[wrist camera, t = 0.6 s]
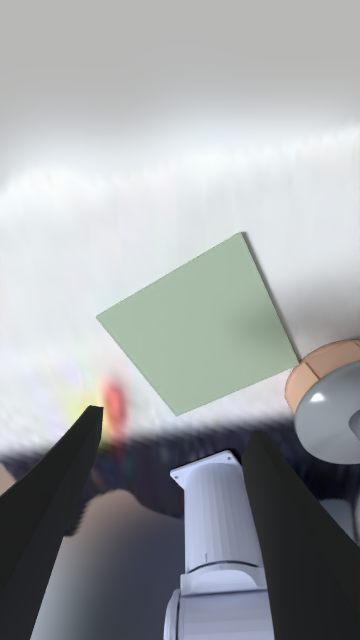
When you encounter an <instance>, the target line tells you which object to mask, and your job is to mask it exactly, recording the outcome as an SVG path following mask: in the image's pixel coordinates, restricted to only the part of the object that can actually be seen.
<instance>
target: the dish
mask: <svg viewBox="0 0 360 640" xmlns="http://www.w3.org/2000/svg"><path fill="white" fill-rule="evenodd" d="M357 360H360V340H344V341H338V342H334V343H331V344H328V345H325V346H323V347H321V348H319V349H317V350H315V351H313V352H312V353H310V354H309V355H307V356H306V357H305V358H303V359H302V360H301V361H300V362H299V364H300V365H297V366H295V368H294V369H293V370H292V372H291V373H290V375H289V377H288V379H287V383H286V387H285V399H286V401H287V403H288V405H289V407H290V409H291V410H292V412H293V414H294V416H295V411H296V408H297V406H298V404H299V402H300V400H301V398H302V397H303V396H304V394H305V393H306V392H307V391H308V390H309V389H310V388H311V386H312V385H314V384H315V383H316V382H317V381H318V380H319V379H321V378H322V377H324V376H325V375H327V374H328V373H330V372H332V371H333V370H335V369H337V368H339V367H341V366H344V365H346V364H349V363H351V362H354V361H357Z"/></svg>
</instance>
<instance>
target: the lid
mask: <svg viewBox="0 0 360 640" xmlns="http://www.w3.org/2000/svg"><path fill="white" fill-rule="evenodd" d="M294 427H295V431H296V434H297V436H298V438H299V440H300V442H301V443H302V445H303V446H304V448H305V449H306V450H307V451H308V452H309V453H310V454H312V455H313V456H315V457H317V458H319V459H321V460H324V461H327V462H332V463H338V464H359V463H360V360H357V361H354V362H351V363H349V364H346V365H344V366H341V367H339V368H337V369H335V370H333V371H332V372H330V373H328V374H327V375H325V376H324V377H322V378H321V379H319V380H318V381H317V382H316V383H315V384H314V385H312V386H311V388H310V389H309V390H308V391H307V392H306V393H305V394H304V396H303V397H302V398H301V400H300V402H299V404H298V406H297V408H296V411H295V416H294Z"/></svg>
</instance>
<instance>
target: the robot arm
mask: <svg viewBox="0 0 360 640" xmlns="http://www.w3.org/2000/svg"><path fill="white" fill-rule="evenodd" d="M103 408H104V407H98V406H91V405H90V406H88V407H87V408H86V410H85V411H84V412H83V413H82V415H81V416H80V417H79V418H78V420H77V421H76V422H75V423H74V424H73V425H72V427H71V428H70V429H69V430H68V431H67V432H66V433H65V434H64V436H63V437H62V438H61V439H60V440H59V441H58V442H57V443H56V444H55V445H54V446H53V447H52V448H51V449H50V450H49V451H48V452H47V453H46V454H45V455H44V456H43V457H42V458H41V459H40V460H39V461H38V462H37V463H36V464H35V465H34V466H33V467H32V468H31V469H30V470H29V471H28V472H27V473H26V474H25V475H24V476H23V477H21V478H20V479H19V480H18V481H17V482H16V483H15V484H14V485H12V486H11V487H10V488H9V489H8V490H7V491H6V492H4V493H3V494H2V495H1V496H0V640H30V638H31V635H32V631H33V628H34V625H35V622H36V619H37V616H38V612H39V610H40V606H41V603H42V600H43V597H44V594H45V591H46V587H47V585H48V582H49V579H50V576H51V572H52V569H53V566H54V563H55V560H56V557H57V554H58V551H59V548H60V545H61V542H62V539H63V536H64V533H65V531H66V528H67V526H68V523H69V520H70V518H71V515H72V513H73V511H74V508H75V506H76V503H77V501H78V499H79V496H80V494H81V491H82V489H83V487H84V484H85V482H86V479H87V477H88V474H89V472H90V470H91V467H92V465H93V462H94V459H95V456H96V453H97V450H98V446H99V443H100V440H101V433H102V421H103ZM241 461H242V466H241V464H240V463H239V462H238V460H237V459H236V458H235V456H234V455H233V454H232V452H231V451H229V450H226V451H223V452H220V453H217V454H215V455H212V456H209V457H206V458H204V459H201V460H198V461H195V462H193V463H190V464H187V465H184V466H182V467H179V468H176V469H174V470H171V473H170V475H171V477H172V478H173V479H174V480H175V481H176V482H177V483H178V484H179V485H180V486H181V487H182V488H183V489H184V490H185V563H186V566H185V567H186V574H182V575H181V589H176V590H175V591H174V593H173V595H172V598H171V599H170V601H169V603H168V607H167V611H166V618H165V627H164V640H360V548H359V546H358V545H357V544H356V543H355V542H354V541H353V540H352V539H351V538H350V537H349V536H348V535H347V534H346V533H345V531H344V530H343V529H342V528H341V527H340V526H339V525H338V524H337V523H336V521H335V520H334V519H333V518H332V517H331V516H330V515H329V513H327V511H326V510H325V509H324V508H323V506H322V505H321V504H320V503H319V501H318V500H317V499H316V498H315V496H314V495H313V494H312V493H311V492H310V490H309V489H308V488H307V486H306V485H305V484H304V483H303V481H302V480H301V479H300V477H299V476H298V475H297V473H296V472H295V471H294V469H293V468H292V467H291V465H290V464H289V463H288V461H287V460H286V458H285V457H284V456H283V454H282V453H281V452H280V450H279V449H278V447H277V446H276V445H275V443H274V442H273V440H272V439H271V438H270V436H269V435H268V434H267V432H263V431H256V430H254V432H253V434H252V436H251V438H250V440H249V442H248V444H247V446H246V448H245V451H244V453H243V455H242V457H241Z"/></svg>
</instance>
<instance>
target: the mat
mask: <svg viewBox="0 0 360 640" xmlns="http://www.w3.org/2000/svg"><path fill="white" fill-rule="evenodd" d="M96 318H97V320H98V321H99V322H100V323H101V325H102V326H103V327H104V328H105V329H106V331H107V332H108V333H109V334H110V336H111V337H112V338H113V339H114V341H115V342H116V343H117V344H118V345H119V347H120V348H121V349H122V350H123V352H124V353H125V354H126V355H127V357H128V358H129V359H130V360H131V361H132V363H133V364H134V365H135V366H136V368H137V369H138V370H139V371H140V373H141V374H142V375H143V376H144V377H145V379H146V380H147V381H148V382H149V384H150V385H151V386H152V387H153V389H154V390H155V391H156V392H157V393H158V395H159V396H160V397H161V398H162V400H163V401H164V402H165V403H166V405H167V406H168V407H169V408H170V409H171V411H172V412H173V413H174V414H175V416H176V417H177V416H179V415H181V414H184V413H186V412H188V411H191V410H193V409H196V408H198V407H200V406H203V405H205V404H207V403H210V402H212V401H214V400H217V399H219V398H222V397H224V396H226V395H229V394H231V393H233V392H236V391H238V390H241V389H243V388H245V387H248V386H250V385H252V384H255V383H257V382H259V381H262V380H264V379H267V378H269V377H271V376H274V375H276V374H278V373H281V372H283V371H285V370H288V369H290V368H293V367H295V366H297V365H300V364H299V362H298V360H297V357H296V355H295V353H294V351H293V348H292V346H291V344H290V342H289V339H288V337H287V335H286V333H285V330H284V328H283V326H282V324H281V321H280V319H279V317H278V315H277V312H276V310H275V308H274V306H273V303H272V301H271V299H270V297H269V294H268V292H267V290H266V288H265V285H264V283H263V281H262V279H261V276H260V274H259V272H258V270H257V267H256V265H255V263H254V261H253V258H252V256H251V254H250V252H249V249H248V247H247V245H246V243H245V240H244V238H243V236H242V234H241V232H239V233H237V234H236V235H234V236H232V237H231V238H229V239H227V240H225V241H224V242H222V243H220V244H219V245H217V246H215V247H213V248H212V249H210V250H208V251H207V252H205V253H203V254H201V255H200V256H198V257H196V258H195V259H193V260H191V261H189V262H188V263H186V264H184V265H183V266H181V267H179V268H178V269H176V270H174V271H172V272H171V273H169V274H167V275H166V276H164V277H162V278H160V279H159V280H157V281H155V282H154V283H152V284H150V285H148V286H147V287H145V288H143V289H142V290H140V291H138V292H136V293H135V294H133V295H131V296H130V297H128V298H126V299H124V300H123V301H121V302H119V303H118V304H116V305H114V306H113V307H111V308H109V309H107V310H106V311H104V312H102V313H101V314H99V315H97V316H96Z"/></svg>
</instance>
